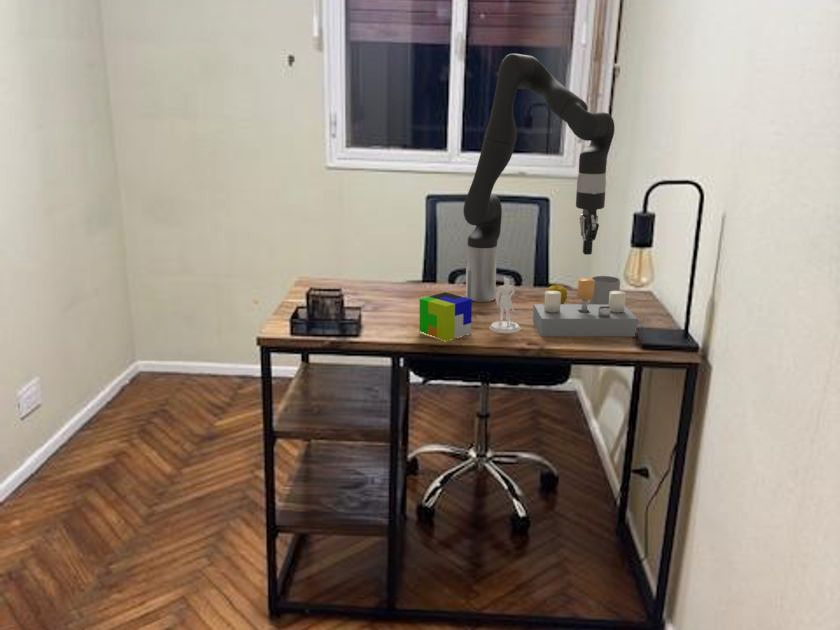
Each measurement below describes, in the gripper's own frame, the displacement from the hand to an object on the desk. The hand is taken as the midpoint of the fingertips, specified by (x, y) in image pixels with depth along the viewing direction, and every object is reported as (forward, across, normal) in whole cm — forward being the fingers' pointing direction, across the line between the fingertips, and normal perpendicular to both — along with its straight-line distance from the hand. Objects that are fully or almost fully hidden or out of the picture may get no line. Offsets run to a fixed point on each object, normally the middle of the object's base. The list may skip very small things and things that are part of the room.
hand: (587, 253), depth 206 cm
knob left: (+20, 0, -9) cm, 22 cm away
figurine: (+22, 0, -22) cm, 31 cm away
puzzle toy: (+21, +5, -39) cm, 45 cm away
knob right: (+20, -1, +9) cm, 22 cm away
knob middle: (+16, -1, 0) cm, 16 cm away
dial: (+16, +4, +5) cm, 18 cm away
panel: (+22, -1, 0) cm, 22 cm away
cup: (+22, -18, +10) cm, 30 cm away
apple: (+22, -20, -4) cm, 30 cm away
